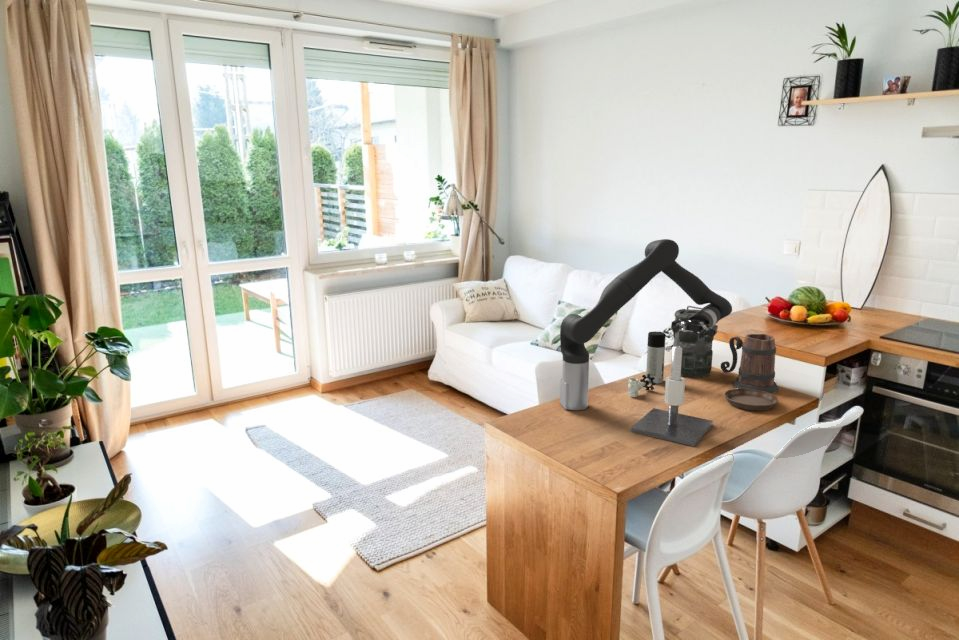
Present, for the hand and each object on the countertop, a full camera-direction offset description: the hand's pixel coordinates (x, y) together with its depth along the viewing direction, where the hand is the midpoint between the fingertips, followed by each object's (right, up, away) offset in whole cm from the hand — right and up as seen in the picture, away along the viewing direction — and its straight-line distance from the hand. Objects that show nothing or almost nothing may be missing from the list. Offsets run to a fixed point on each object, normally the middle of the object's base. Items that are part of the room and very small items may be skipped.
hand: (687, 333), depth 200 cm
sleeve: (-6, -22, -4) cm, 23 cm away
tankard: (+37, -21, +39) cm, 58 cm away
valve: (-8, -24, +30) cm, 39 cm away
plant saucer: (+29, -26, +19) cm, 43 cm away
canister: (+20, -18, +54) cm, 60 cm away
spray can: (+2, -21, +43) cm, 48 cm away
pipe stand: (-6, -31, -2) cm, 32 cm away
